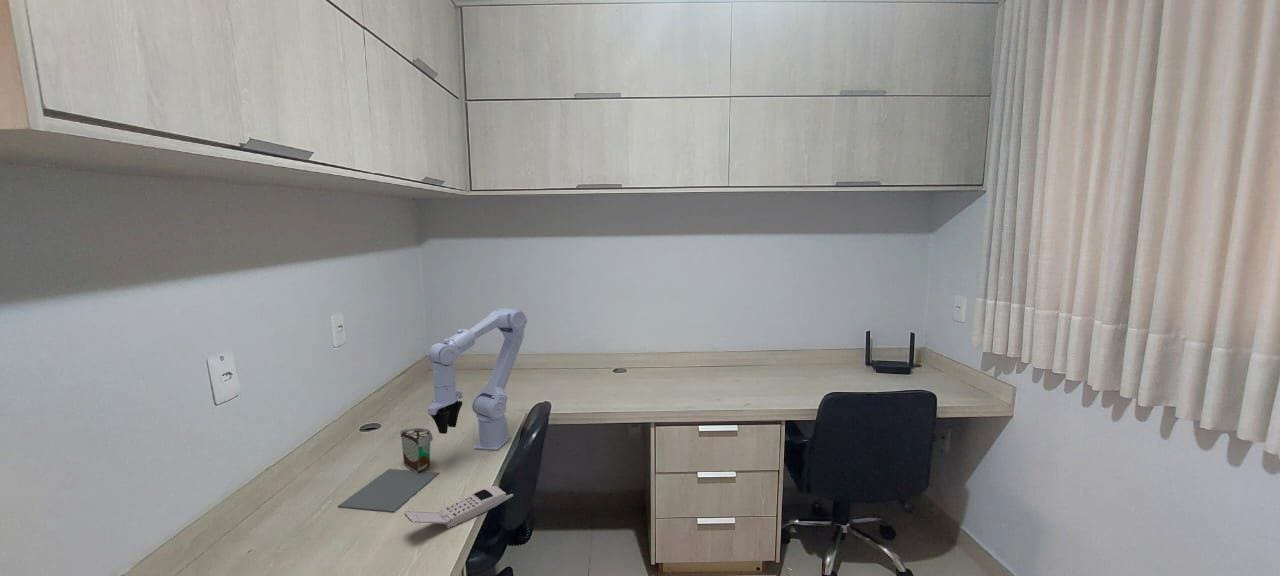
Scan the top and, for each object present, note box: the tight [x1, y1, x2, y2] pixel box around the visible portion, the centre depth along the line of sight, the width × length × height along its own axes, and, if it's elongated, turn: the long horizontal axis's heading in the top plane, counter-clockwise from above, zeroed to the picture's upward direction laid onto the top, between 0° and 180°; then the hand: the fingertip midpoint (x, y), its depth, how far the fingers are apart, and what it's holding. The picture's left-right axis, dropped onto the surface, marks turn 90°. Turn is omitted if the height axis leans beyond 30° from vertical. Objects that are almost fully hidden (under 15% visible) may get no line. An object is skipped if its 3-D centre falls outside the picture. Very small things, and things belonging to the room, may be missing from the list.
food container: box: [400, 427, 434, 473], centre depth 145 cm, size 12×6×10 cm, turn 48°
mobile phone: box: [403, 485, 514, 529], centre depth 120 cm, size 6×6×25 cm
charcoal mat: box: [337, 468, 440, 513], centre depth 133 cm, size 19×16×1 cm
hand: (447, 429), depth 145 cm, fingers open, 4 cm apart
